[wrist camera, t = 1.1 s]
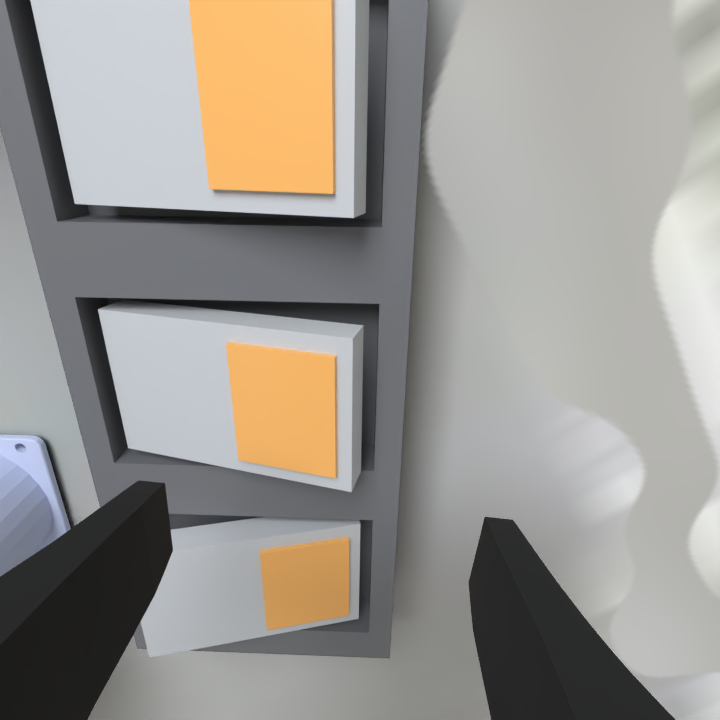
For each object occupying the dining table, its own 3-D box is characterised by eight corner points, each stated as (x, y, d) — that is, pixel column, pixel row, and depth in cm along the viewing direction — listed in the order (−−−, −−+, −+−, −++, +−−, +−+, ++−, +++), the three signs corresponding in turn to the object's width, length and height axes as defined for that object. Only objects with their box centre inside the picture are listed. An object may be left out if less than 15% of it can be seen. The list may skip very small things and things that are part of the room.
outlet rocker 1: (148, 431, 19) (124, 451, 18) (122, 299, 17) (93, 311, 16) (361, 471, 17) (349, 496, 16) (363, 325, 15) (350, 340, 14)
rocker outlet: (103, 200, 16) (69, 204, 14) (63, -7, 13) (18, -23, 12) (365, 212, 14) (351, 219, 12) (369, -32, 11) (352, -54, 10)
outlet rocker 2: (154, 631, 21) (148, 662, 20) (131, 535, 19) (123, 562, 18) (353, 596, 23) (359, 622, 22) (354, 504, 21) (361, 527, 19)
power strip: (174, 571, 27) (137, 648, 23) (49, -62, 15) (-70, -140, 11) (387, 579, 26) (389, 658, 22) (420, -60, 15) (436, -139, 11)
